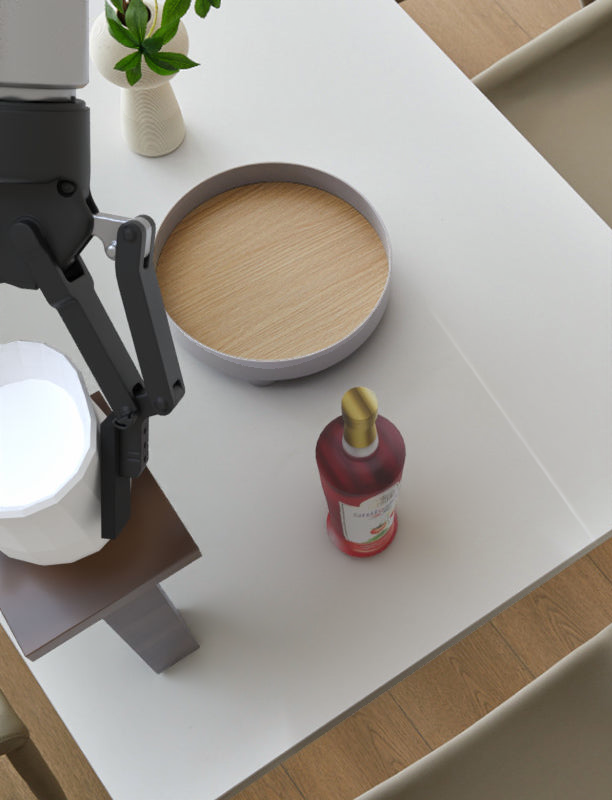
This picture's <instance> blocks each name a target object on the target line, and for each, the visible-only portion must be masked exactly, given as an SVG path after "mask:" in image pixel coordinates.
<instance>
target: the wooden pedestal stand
mask: <svg viewBox="0 0 612 800" xmlns="http://www.w3.org/2000/svg"><path fill="white" fill-rule="evenodd" d="M89 395H90V397H91V399H92V400H93V401H94V402H95V403H96V405H97V406H98V407H99V408H100V409H101V410H102V411H103V413H104V414H105V415H106V416H108V415H109V414H110V413H111V412H112V409H111V407H110V405H109V403H108V402H107V400H106V398H105V396H104V395H103V393H101V390H97V391H95V392H93V393H91V394H89ZM202 557H203V553H202V551H201V550H200V547H199V546H198V544H197V543H196V541H195V539H194V538H193V536H192V535H191V533H190V531H189V530H188V528H187V527H186V525H185V523H184V522H183V521H182V519H181V518H180V516H179V514H178V513H177V511H176V510H175V508H174V505H172V503H171V502H170V500H169V498H168V497H167V495H166V494H165V492H164V491H163V489H162V487H161V486H160V484H159V483H158V481H157V479H156V478H155V476H154V475H153V473H152V472H151V470H150V468H149V467H148V465H147V464H146V466H145V468H144V470H143V471H142V472H141V474H140V475H139V477H138V478H131V518H130V519H129V521H128V522H127V524H126V525H125V526H124V528H123V529H122V531H121V532H120V534H119V535H118V536H117V538H116V539H115V540H112V539H110V540H109V541H108V542H107V543H106V544H105V545H104V546H103V547H102V548H101V549H100V551H97V552H95V553H93V554H91V555H88V556H86V557H84V558H81V559H79V560H77V561H75V562H72V563H64V564H55V565H38V564H34V563H30V562H27V561H23V560H19V559H15V558H11V557H8V556H7V555H6V554H4V553H3V552H2V551H0V613H1V615H2V616H3V618H4V620H5V622H6V624H7V626H8V628H9V630H10V631H11V634H12V635H13V637H14V639H15V640H16V643H17V645H18V646H19V648H20V650H21V652H22V655H23V656H24V657H25V658H26V659H27V660H29V661H30V662H32V663H34V662H36V661H38V660H39V659H40V658H42V657H44V656H45V655H47V654H49V653H50V652H52V651H53V650H55V649H56V648H58V647H60V646H61V645H63V644H65V643H66V642H68V641H69V640H71V639H73V638H74V637H75V636H78V635H79V634H81V633H83V632H84V631H85V630H87V629H88V628H90V627H91V626H94V625H95V624H96V623H98V622H100V621H101V620H102V621H104V622H105V623H106V624H107V625H108V626H109V627H110V628H111V629H112V631H114V632H115V633H116V634H117V635H118V636H119V637H120V639H122V640H123V641H124V642H125V643H126V644H127V645H128V647H130V648H131V649H132V650H133V651H134V652H135V654H137V656H138V657H140V658H141V659H142V660H143V662H145V664H147V665H148V666H149V668H151V669H152V670H153V671H154V672H155V674H156V675H160V674H162V673H163V672H164V671H166V670H168V669H169V668H171V667H172V666H174V665H175V664H177V663H178V662H180V661H182V660H183V659H184V658H186V657H187V656H189V655H191V654H192V653H194V652H195V651H197V650H198V649H200V645H199V643H198V642H197V640H196V639H195V637H194V635H193V634H192V632H191V630H190V629H189V627H188V625H187V623H186V621H184V618H183V617H182V615H181V614H180V612H179V610H178V608H177V607H176V605H175V604H174V603H173V602H172V600H171V598H169V596H168V594H167V593H166V592H165V590H164V588H163V587H162V585H161V583H162V582H163V581H165V580H167V579H168V578H170V577H171V576H173V575H175V574H176V573H177V572H180V571H181V570H183V569H184V568H186V567H188V566H189V565H191V564H192V563H194V562H195V561H197V560H198V559H201V558H202Z"/></svg>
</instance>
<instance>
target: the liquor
mask: <svg viewBox="0 0 612 800" xmlns="http://www.w3.org/2000/svg"><path fill="white" fill-rule="evenodd" d="M340 403H341V404H340V405H341V407H340V408H341V415H339V416H336V417H335V418H334V419H332V420H331V421H330V422H328V424H326V426H324V428H323V429H322V430H321V432H320V434H319V436H318V438H317V440H316V445H315V451H314V453H315V454H314V455H315V456H314V457H315V462H316V467H317V469H318V475H319V479H320V483H321V488H322V492H323V495H324V497H325V501H326V505H327V509H328V512H327V516H326V521H325V522H326V523H325V524H326V525H325V527H326V531H327V535H328V537H329V539H330V541H331V542H332V544H333V546H334V547H336V548H337V549H338V550H339V551H340V552H341V553H344V554H345V555H348V556H351V557H354V558H368V557H373V556H374V557H375V556H377V555H378V554H381V553H382V552H383V551H385V550H386V549H387V548H388V547H389V546H390V545H391V544H392V542H393V541H394V539H395V538H396V535H397V533H398V526H399V518H398V515H397V511H396V505H397V500H398V496H399V491H400V488H401V485H402V479H403V472H404V467H405V463H406V456H407V453H406V452H407V451H406V443H405V439H404V437H403V435H402V434H401V431H400V430H399V428H397V426H396V425H395V423H393V422H392V421H391V420H389V419H388V418H386V417H384V415H383V416H382V415H381V414H378V413H379V401H378V397H377V395H376V393H375V392H374V391H373V390H371V389H370V388H368V387H366V386H365V387H364V386H355V387H352V388H349V389H348V390H346V392H345V393H344V394H343V396H342V398H341V401H340Z"/></svg>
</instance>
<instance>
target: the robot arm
mask: <svg viewBox="0 0 612 800" xmlns="http://www.w3.org/2000/svg"><path fill="white" fill-rule="evenodd" d="M89 83H90V0H0V284H8V285H10V286H12V287H16V288H18V289H22V290H31V291H38V290H40V292H41V293H42V295H43V297H44V299H45V301H46V302H47V304H48V305H49V306H50V307H51V308H53V309H55V310H56V311H57V313H58V315H59V316H60V319H61V320H62V322H63V324H64V325H65V328H66V329H67V331H68V333H69V334H70V337H71V338H72V340H73V341H74V344H75V345H76V347H77V349H78V351H79V353H80V355H81V357H82V358H83V360H84V362H85V363H86V365H87V367H88V369H89V371H90V372H91V374H92V377H93V378H94V380H95V382H96V384H97V385H98V387H99V389H100V392H102V393H101V394H102V395H103V397H104V399H105V400H106V402H107V404H108V405H109V407H110V408H111V410H112V412H111V413H110V414H109V415H108V416H107V417H106V419H105V420H104V421H103V422H102V423H101V424H100V459H101V538H102V539H112V540H115V539H116V538H117V536H118V535H119V534H120V532H121V531H122V529H123V528H124V526H125V525H126V524H127V522H128V521H129V519H130V518H131V478H138V477H139V475H140V474H141V472H142V471H143V470H144V468H145V466H146V465H147V464H148V462H149V460H150V458H149V457H150V456H149V455H150V453H149V452H150V451H149V448H150V418H151V417H155V416H160V417H166V416H168V415H170V414H171V413H172V412H173V410H175V408H176V407H177V406H178V404H179V403H180V402H181V401H182V400H183V398H184V397H185V395H186V386H185V382H184V377H183V374H182V371H181V366H180V363H179V359H178V355H177V350H176V348H175V343H174V339H173V335H172V331H171V326H170V324H169V319H168V315H167V312H166V308H165V304H164V300H163V295H162V292H161V288H160V284H159V280H158V276H157V272H156V268H155V264H154V253H155V241H156V233H157V226H156V225H157V224H156V222H155V220H154V219H153V218H152V217H151V216H150V215H148V214H139V215H136V216H135V217H127V216H121V215H117V214H111V213H107V212H106V213H105V212H101V211H100V210H99V207H98V205H97V204H96V202H95V200H94V198H93V194H92V190H91V176H92V167H91V166H92V163H91V159H92V157H91V156H92V155H91V108H90V107H89V106H87V103H86V101H85V100H84V99H81V98H77V90H80V89H81V90H82V89H84V88H85V87H87V85H88V84H89ZM94 237H96V238H98V239H99V240H100V241H101V243H102V245H103V249H104V250H103V251H104V253H105V255H106V256H107V258H108V259H109V260H111V261H114V271H115V279H116V283H117V287H118V291H119V295H120V299H121V302H122V306H123V310H124V313H125V317H126V321H127V325H128V328H129V333H130V335H131V340H132V343H133V347H134V351H135V354H136V359H137V362H138V367H139V369H140V372H139V370H138V368H137V365H136V364H135V362H134V360H133V359H132V357H131V355H130V353H129V352H128V350H127V348H126V345H125V344H124V342H123V341H122V338H121V336H120V335H119V333H118V331H117V329H116V327H115V326H114V323H113V322H112V319H111V318H110V316H109V314H108V312H107V311H106V309H105V307H104V305H103V302H102V301H101V299H100V297H99V296H98V294H97V292H96V290H95V282H94V281H95V280H94V279H93V276H92V274H91V273H90V270H89V269H88V267H87V265H86V263H85V261H84V260H83V257H82V256H81V253H82V252H83V251H84V249H86V247H87V246H88V244H89V243H90V242H91V241H92V239H93V238H94ZM140 373H141V374H140Z"/></svg>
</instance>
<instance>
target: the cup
mask: <svg viewBox="0 0 612 800" xmlns="http://www.w3.org/2000/svg"><path fill="white" fill-rule="evenodd" d="M90 395H91V394H90V393H89V390H88V387H87V384H86V382H85V378H84V376H83V373H82V371H81V370H80V369H79V367H78V366H77V365H76V363H75V362H74V361H73V360H72V358H71V357H70V355H68V354H67V353H65V352H63V351H61V350H59V349H58V348H57V347H54V346H52V345H50V344H48V343H47V342H41V341H32V340H22V339H19V340H15V341H11V342H6V343H2V344H0V551H2V552H3V553H4V554H6V555H7V556H8V557H11V558H15V559H19V560H23V561H27V562H30V563H34V564H38V565H55V564H64V563H72V562H75V561H77V560H79V559H81V558H84V557H86V556H88V555H91V554H93V553H95V552H97V551H100V549H101V548H102V547H103V546H104V545H105V544H106V543H107V542H108V541H109V540H110V539H102V538H101V459H100V424H101V423H102V422H103V421H104V420H105V419H106V417H107V416H106V415H105V414H104V413H103V411H102V410H101V409H100V408H99V407H98V406H97V405H96V403H95V402H94V401H93V400H92V399H91V397H90Z"/></svg>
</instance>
